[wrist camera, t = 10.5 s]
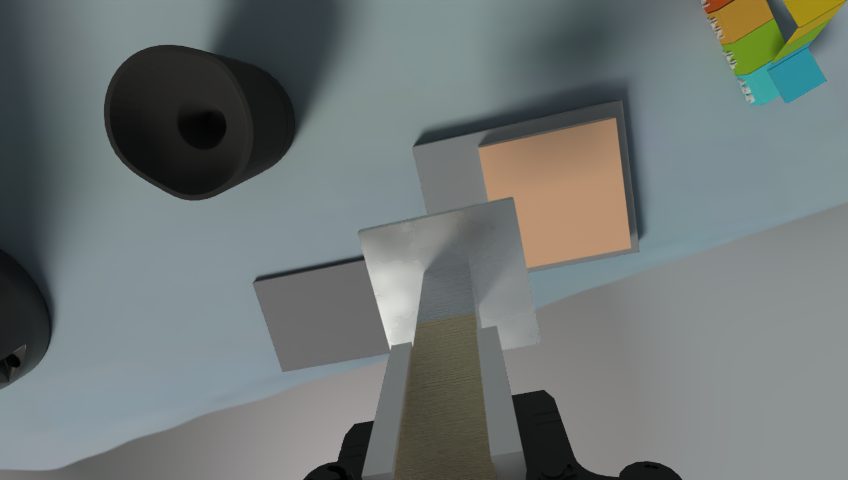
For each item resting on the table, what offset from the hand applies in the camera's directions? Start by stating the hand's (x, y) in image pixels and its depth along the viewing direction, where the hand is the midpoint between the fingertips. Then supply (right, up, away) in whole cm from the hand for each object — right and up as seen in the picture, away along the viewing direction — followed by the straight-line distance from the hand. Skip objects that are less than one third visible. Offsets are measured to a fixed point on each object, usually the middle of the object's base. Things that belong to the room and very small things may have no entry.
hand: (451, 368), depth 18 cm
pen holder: (-16, +15, +22) cm, 31 cm away
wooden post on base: (0, +2, +8) cm, 9 cm away
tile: (+4, +7, +21) cm, 22 cm away
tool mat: (-10, -2, +26) cm, 28 cm away
